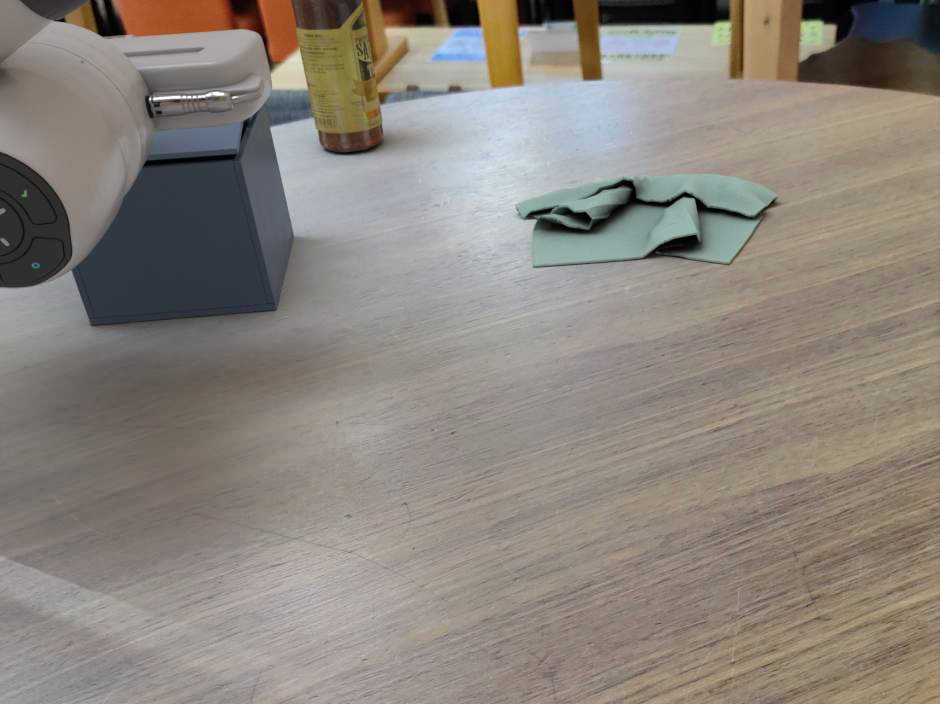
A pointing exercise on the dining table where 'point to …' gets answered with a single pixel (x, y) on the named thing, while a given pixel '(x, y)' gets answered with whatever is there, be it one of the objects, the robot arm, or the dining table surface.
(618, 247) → the cloth
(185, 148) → the flap
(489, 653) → the dining table surface
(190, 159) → the carton
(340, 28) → the sauce bottle
